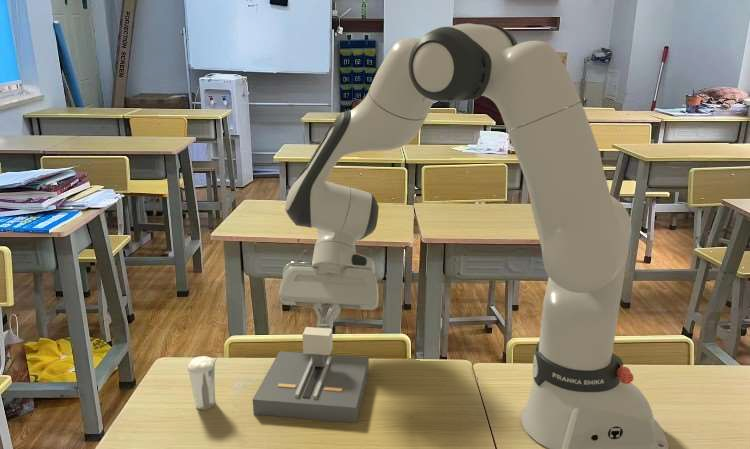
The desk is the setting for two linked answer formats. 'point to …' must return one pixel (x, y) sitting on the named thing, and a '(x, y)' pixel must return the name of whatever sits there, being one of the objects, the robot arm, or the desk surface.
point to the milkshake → (203, 381)
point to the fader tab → (317, 344)
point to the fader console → (313, 387)
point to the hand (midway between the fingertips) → (324, 327)
